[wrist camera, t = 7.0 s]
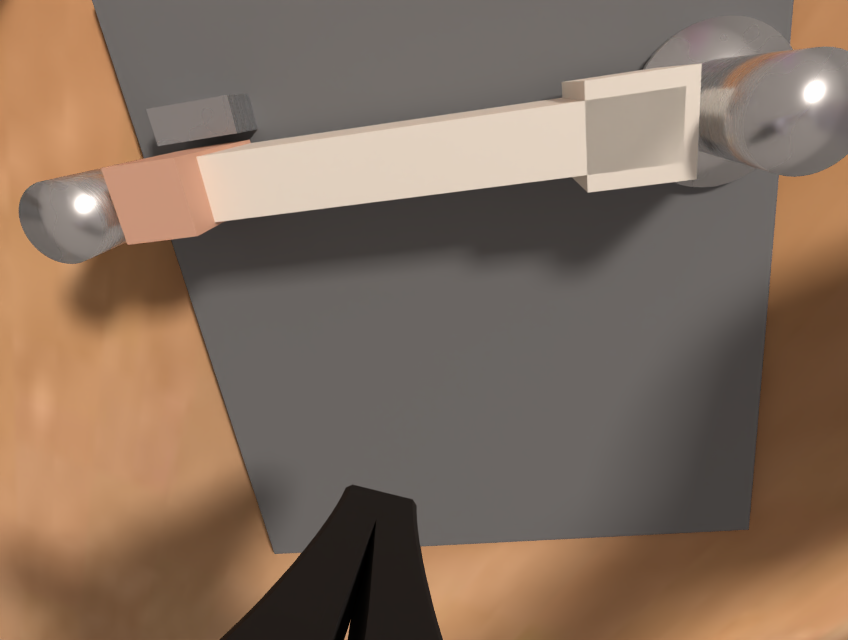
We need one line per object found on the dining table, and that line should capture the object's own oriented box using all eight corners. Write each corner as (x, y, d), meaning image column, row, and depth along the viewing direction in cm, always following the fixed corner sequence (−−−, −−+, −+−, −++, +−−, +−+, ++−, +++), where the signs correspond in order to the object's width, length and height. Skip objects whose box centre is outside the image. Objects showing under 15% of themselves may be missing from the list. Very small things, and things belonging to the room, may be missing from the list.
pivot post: (793, 5, 15) (955, -37, 10) (779, 171, 17) (912, 209, 11) (623, 34, 16) (694, 9, 10) (626, 192, 17) (688, 236, 12)
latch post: (253, 93, 17) (159, 97, 12) (280, 201, 18) (205, 246, 13) (122, 116, 18) (-21, 129, 13) (156, 219, 19) (39, 268, 14)
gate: (653, 68, 15) (720, 61, 11) (651, 160, 16) (714, 186, 12) (190, 137, 17) (95, 154, 13) (212, 216, 18) (131, 256, 13)
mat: (797, -145, 14) (806, -151, 13) (744, 521, 22) (748, 529, 21) (99, -1, 16) (91, -3, 16) (277, 546, 24) (274, 553, 24)
